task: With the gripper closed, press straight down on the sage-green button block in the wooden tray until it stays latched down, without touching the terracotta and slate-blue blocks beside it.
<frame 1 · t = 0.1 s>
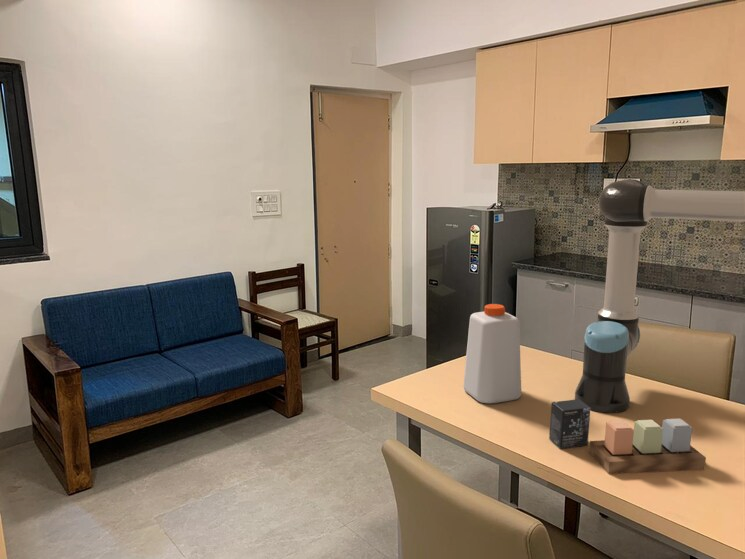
slate button: (676, 434, 137), point 6 cm above the table, slide at 0.0 cm
wooden tray: (645, 460, 138), on the table
sage button: (647, 435, 136), point 6 cm above the table, slide at 0.0 cm
box: (568, 443, 147), on the table
plastic bottle: (491, 394, 177), on the table
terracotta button: (618, 437, 136), point 6 cm above the table, slide at 0.0 cm
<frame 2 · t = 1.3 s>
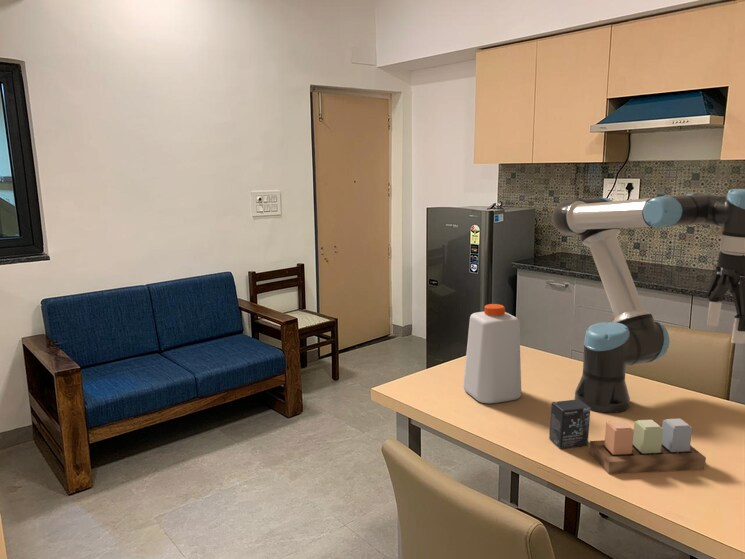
hand: (724, 334, 147), 27 cm above the table, fingers open, 13 cm apart
nothing on the table moved.
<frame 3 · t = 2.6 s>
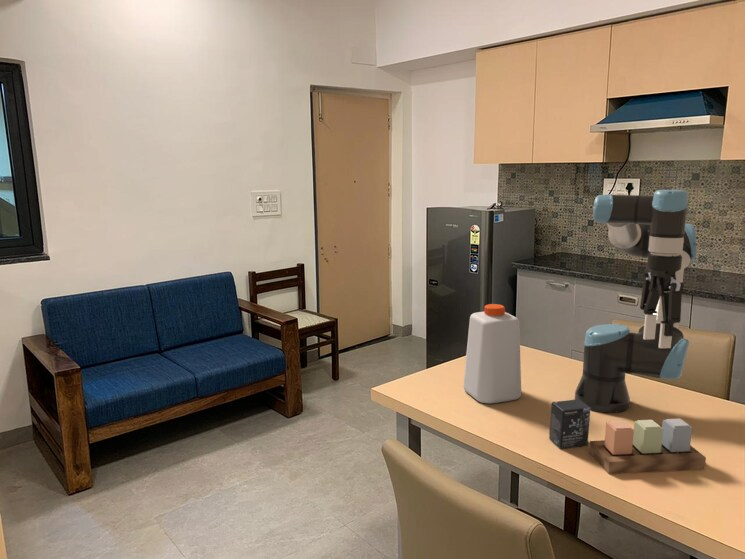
hand: (656, 343, 146), 25 cm above the table, fingers open, 6 cm apart
nothing on the table moved.
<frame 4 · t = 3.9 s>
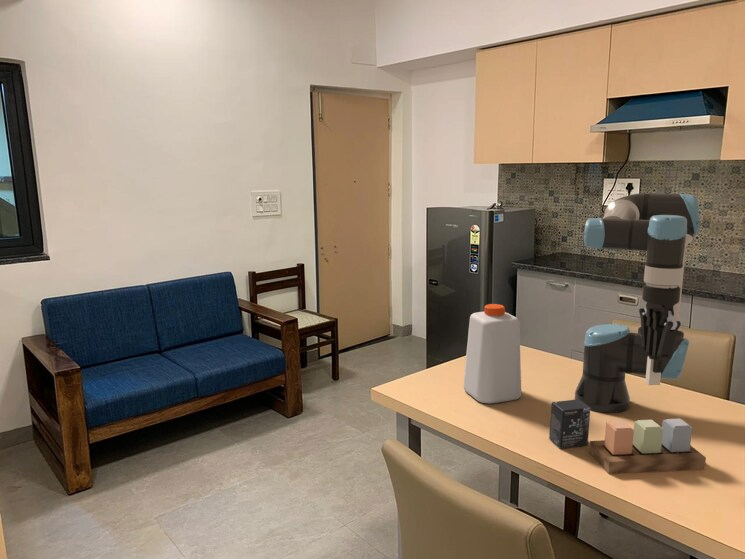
hand: (652, 383, 133), 20 cm above the table, fingers closed
nothing on the table moved.
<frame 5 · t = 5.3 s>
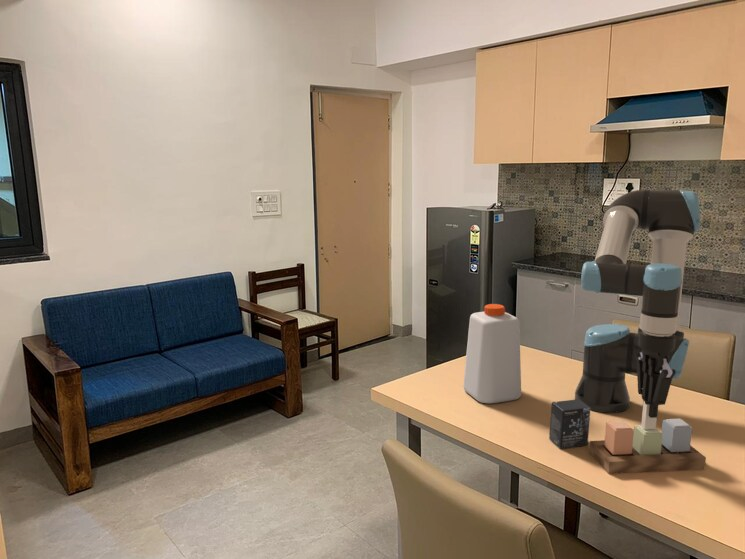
hand: (648, 427, 136), 9 cm above the table, fingers closed
sage button: (647, 440, 136), point 5 cm above the table, slide at 1.3 cm, touching gripper
everything else where it was.
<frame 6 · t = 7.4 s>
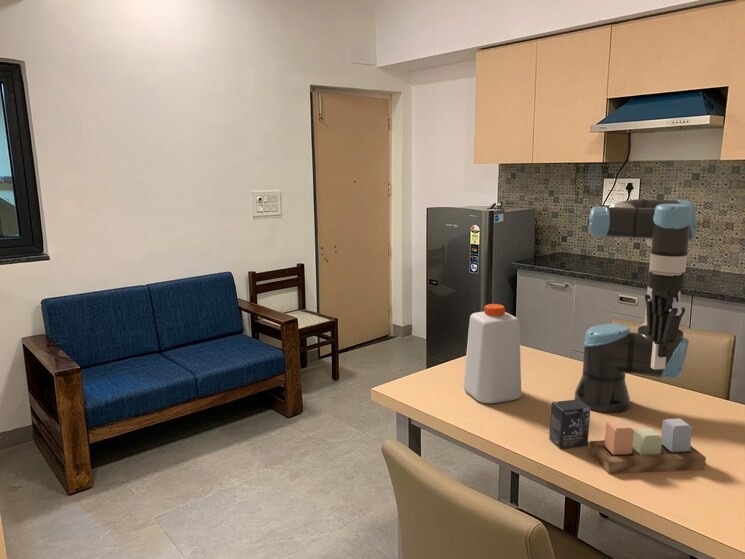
hand: (657, 367, 137), 22 cm above the table, fingers closed
sage button: (646, 444, 137), point 4 cm above the table, slide at 2.2 cm
everything else where it was.
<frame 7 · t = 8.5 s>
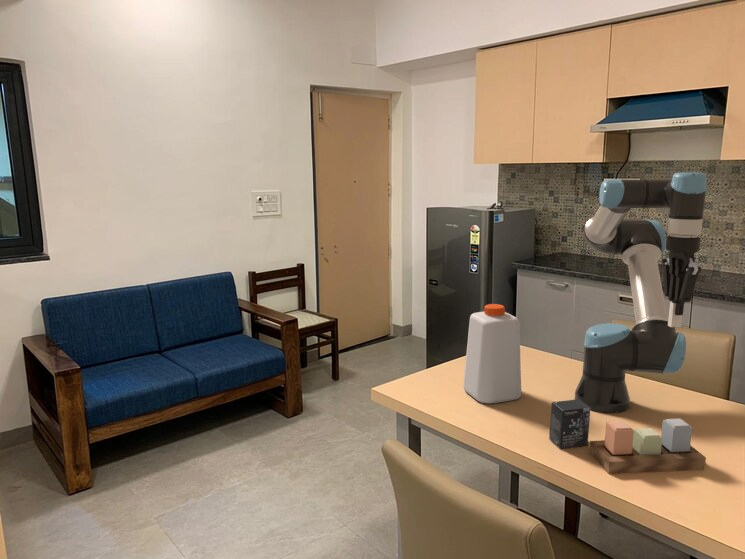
hand: (674, 326, 148), 28 cm above the table, fingers closed
nothing on the table moved.
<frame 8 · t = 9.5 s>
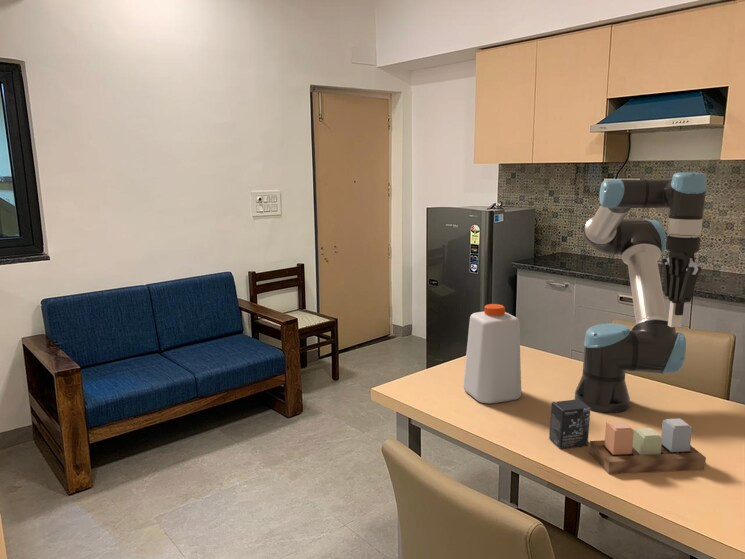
hand: (674, 326, 148), 28 cm above the table, fingers closed
nothing on the table moved.
at the end: sage button slide at 2.2 cm; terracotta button slide at 0.0 cm; slate button slide at 0.0 cm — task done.
